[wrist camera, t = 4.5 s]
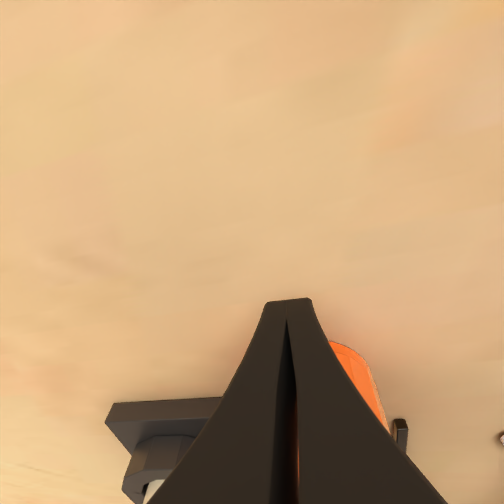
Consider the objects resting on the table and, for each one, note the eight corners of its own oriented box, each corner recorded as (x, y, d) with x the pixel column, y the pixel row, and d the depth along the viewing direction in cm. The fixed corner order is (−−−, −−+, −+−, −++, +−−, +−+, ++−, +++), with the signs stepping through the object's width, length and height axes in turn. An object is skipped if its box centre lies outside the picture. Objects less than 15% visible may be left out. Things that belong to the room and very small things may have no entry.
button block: (113, 402, 18) (87, 456, 16) (223, 396, 17) (213, 454, 15) (169, 477, 24) (156, 527, 21) (257, 477, 22) (255, 530, 20)
